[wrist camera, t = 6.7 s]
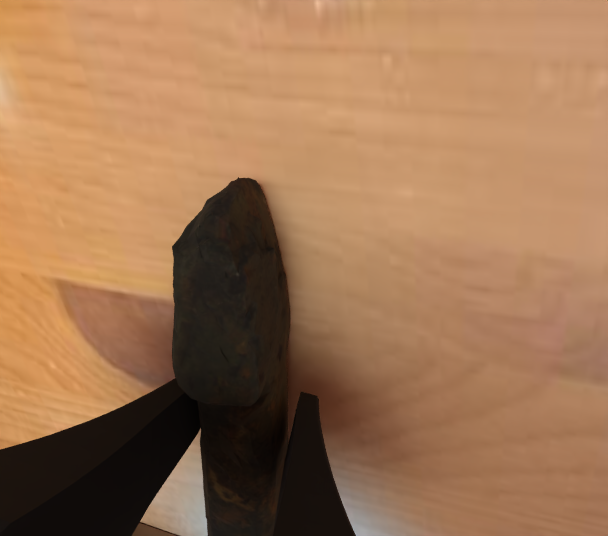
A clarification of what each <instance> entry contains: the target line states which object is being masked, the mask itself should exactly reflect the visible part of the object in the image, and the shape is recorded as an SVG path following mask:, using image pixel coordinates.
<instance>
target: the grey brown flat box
mask: <svg viewBox="0 0 608 536" xmlns="http://www.w3.org/2000/svg"><path fill="white" fill-rule="evenodd" d="M132 536H176V535H173V534H170V533H167V532H164V531H162V530H159V529H156V528H153V527H150V526H147V525H144V524H141V523H139V524H138V526H137V527H136V529H135V531H134V533H133V534H132Z"/></svg>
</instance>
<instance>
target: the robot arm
mask: <svg viewBox="0 0 608 536" xmlns="http://www.w3.org/2000/svg"><path fill="white" fill-rule="evenodd" d="M200 428H201V425H200V419H199V411H198V403H197V400H194V399H191V398H190V397H189V396H188V395H187V394H186V393H185V392H184V391H183V390H182V388H181V387H180V386H179V385H178V383H177V380H176V378H175V379H173V380H172V381H170V382H168V383H166V384H165V385H163V386H161V387H159V388H157V389H156V390H154V391H152V392H150V393H148V394H146V395H144V396H142V397H140V398H138V399H136V400H135V401H133V402H131V403H129V404H127V405H125V406H122V407H120V408H118V409H116V410H114V411H111V412H109V413H107V414H104V415H102V416H100V417H97V418H95V419H92V420H90V421H87V422H85V423H82V424H79V425H76V426H74V427H71V428H68V429H65V430H63V431H60V432H57V433H54V434H51V435H48V436H45V437H42V438H39V439H36V440H32V441H29V442H26V443H22V444H19V445H15V446H12V447H8V448H5V449H1V450H0V536H132V534H133V533H134V531H135V529H136V527H137V526H138V524H139V522H140V520H141V519H142V517H143V515H144V514H145V512H146V510H147V508H148V507H149V505H150V504H151V502H152V500H153V499H154V497H155V496H156V494H157V493H158V491H159V490H160V488H161V487H162V485H163V484H164V482H165V481H166V479H167V478H168V477H169V475H170V474H171V472H172V471H173V469H174V468H175V466H176V465H177V463H178V462H179V461H180V459H181V458H182V456H183V455H184V453H185V452H186V450H187V449H188V447H189V446H190V444H191V443H192V441H193V440H194V438H195V437H196V435H197V434H198V432H199V430H200ZM272 536H356V535H355V533H354V531H353V528H352V526H351V524H350V522H349V519H348V517H347V514H346V511H345V509H344V506H343V504H342V501H341V498H340V495H339V493H338V490H337V487H336V484H335V481H334V478H333V474H332V471H331V467H330V464H329V460H328V457H327V453H326V449H325V444H324V439H323V434H322V429H321V423H320V416H319V399H318V397H317V396H315V395H312V394H308V393H304V392H301V393H300V397H299V401H298V404H297V409H296V413H295V417H294V422H293V426H292V431H291V435H290V440H289V444H288V448H287V453H286V457H285V462H284V468H283V474H282V480H281V486H280V493H279V499H278V505H277V511H276V517H275V524H274V530H273V535H272Z"/></svg>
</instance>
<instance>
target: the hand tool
mask: <svg viewBox="0 0 608 536" xmlns="http://www.w3.org/2000/svg"><path fill="white" fill-rule="evenodd" d="M172 249H173V256H174V266H173V277H174V279H173V288H174V293H173V297H174V303H175V308H174V329H173V342H172V360H173V369H174V373H175V377H176V380H177V383H178V385H179V386H180V387H181V388H182V390H183V391H184V392H185V393H186V394H187V395H188V396H189V397H190V398H191V399H194V400H197V403H198V411H199V419H200V425H201V437H200V447H201V458H202V470H203V487H204V498H205V510H206V518H207V530H208V536H272V535H273V530H274V524H275V517H276V511H277V505H278V499H279V493H280V486H281V480H282V474H283V468H284V462H285V457H286V453H287V448H288V391H287V376H288V372H287V345H288V336H289V328H290V308H289V299H288V292H287V283H286V275H285V273H284V270H283V265H282V261H281V255H280V251H279V247H278V243H277V239H276V235H275V230H274V226H273V223H272V220H271V217H270V214H269V211H268V208H267V204H266V200H265V196H264V194H263V191H262V189H261V187H260V185H259V184H258V183H257V181H256V180H253V179H250V178H239V177H238V179H237V180H235V181H231V182H230V183H229V185H228V186H227V187H226V188H224V189H223V190H222V191H220V192H219V193H217V194H216V195H214V196H213V197H211V198H209V199H208V200H207V201H206V203H205V205H204V207H203V209H202V210H201V211H200V212H199V214H198V215H197V216H196V217H195V218H194V219H193V220H192V221H191V222H190V223H189V224H188V225H187V227H186V228H185V230H184V232H183V233H182V235H181V237H180V238H179V239H178V240H177V241H176V243H175V244H174V245H173V246H172Z"/></svg>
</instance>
